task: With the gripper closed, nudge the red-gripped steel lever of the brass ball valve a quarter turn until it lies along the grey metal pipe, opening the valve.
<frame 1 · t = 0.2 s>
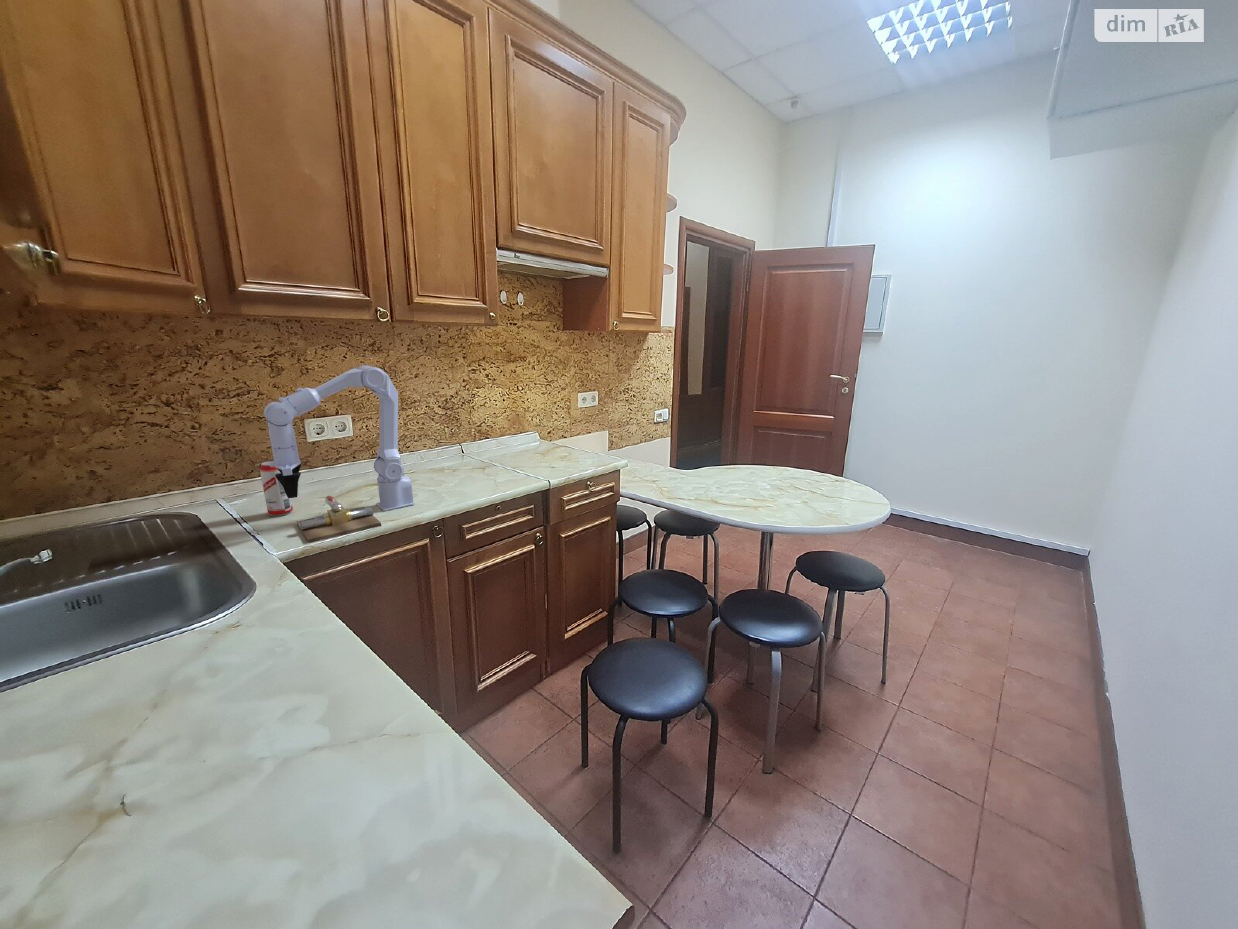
hand: (293, 493, 133), 10 cm above the countertop, fingers open, 7 cm apart
valve lever: (333, 503, 138), point 6 cm above the countertop, hinge at 0.0°
walnut board: (339, 525, 137), on the countertop
valve body: (339, 525, 137), resting on walnut board
beer can: (281, 514, 144), on the countertop
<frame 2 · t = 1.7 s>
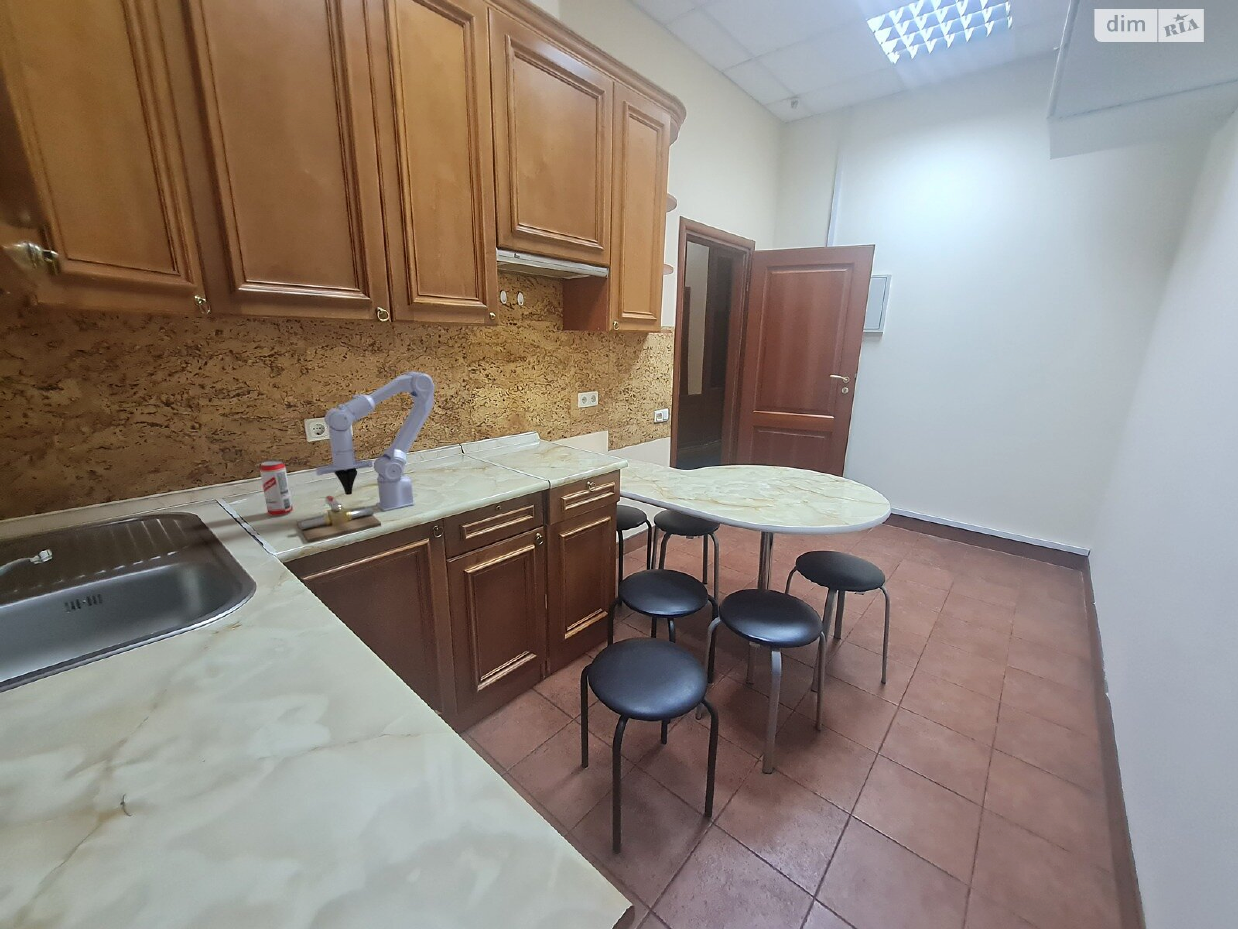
hand: (348, 493, 143), 7 cm above the countertop, fingers closed
nothing on the countertop moved.
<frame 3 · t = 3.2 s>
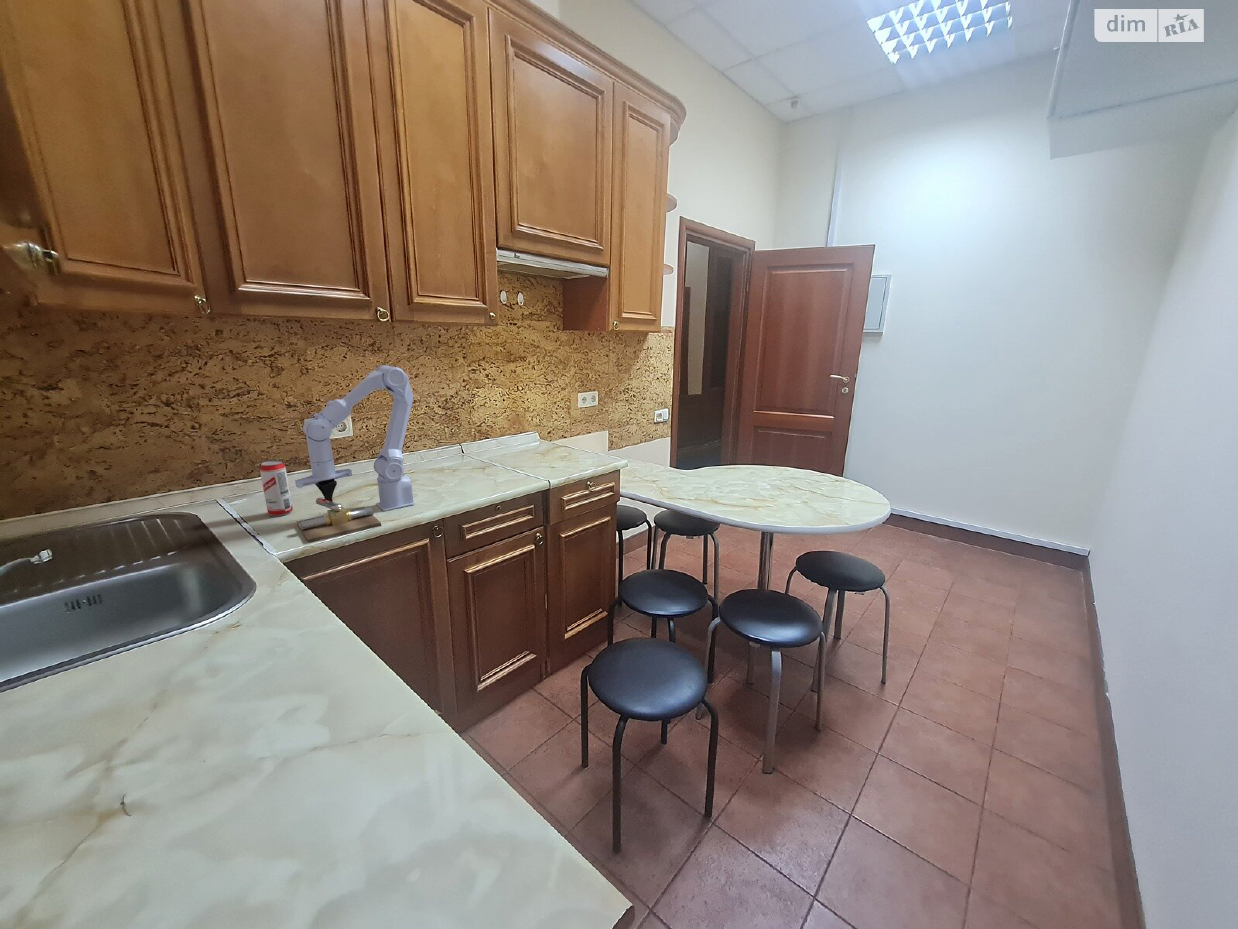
hand: (329, 504, 140), 4 cm above the countertop, fingers closed, pressing on valve lever
valve lever: (328, 504, 137), point 6 cm above the countertop, hinge at 16.5°, touching gripper
everything else where it was.
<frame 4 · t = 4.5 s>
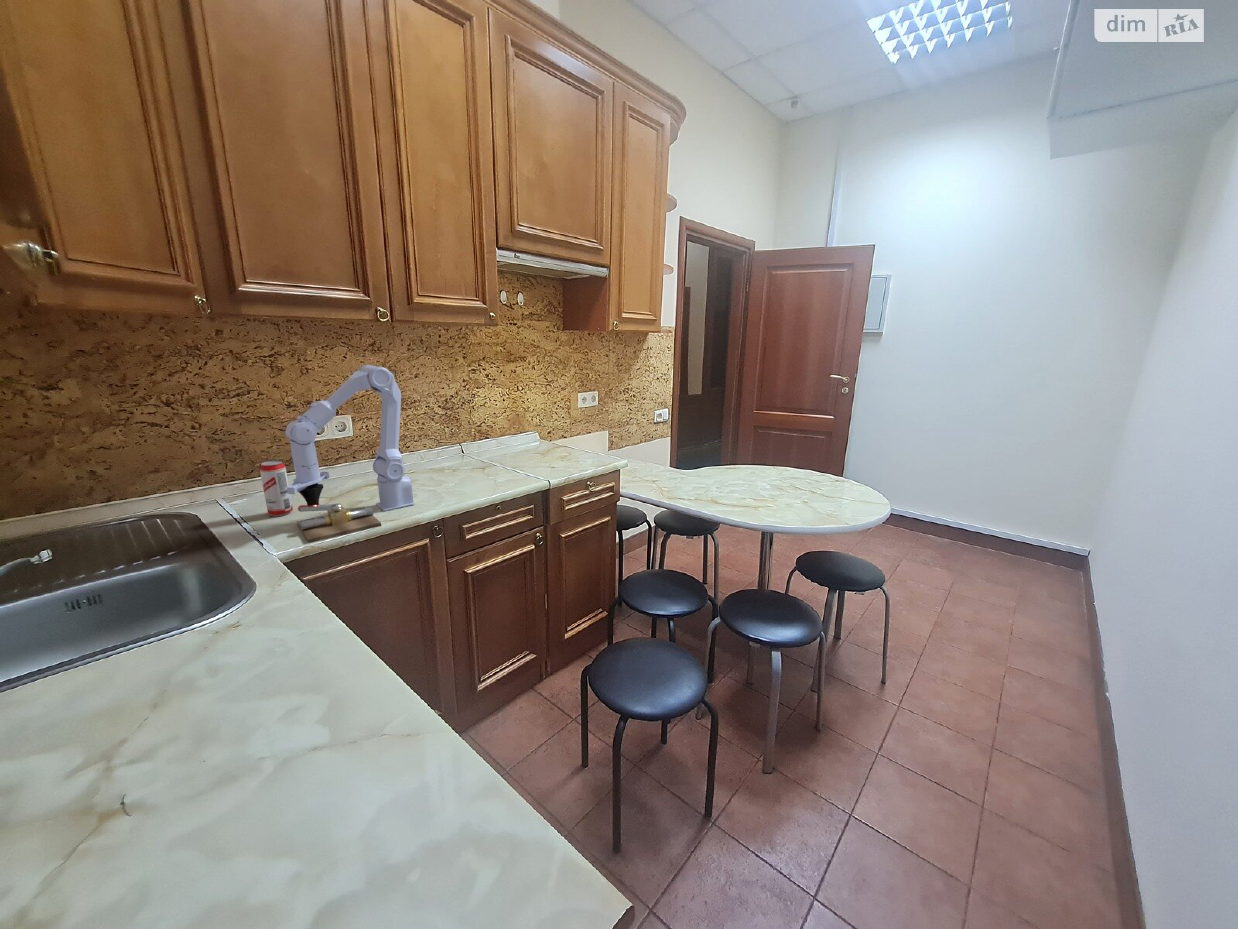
hand: (314, 509, 136), 4 cm above the countertop, fingers closed, pressing on valve lever
valve lever: (321, 507, 134), point 6 cm above the countertop, hinge at 57.6°, touching gripper
everything else where it was.
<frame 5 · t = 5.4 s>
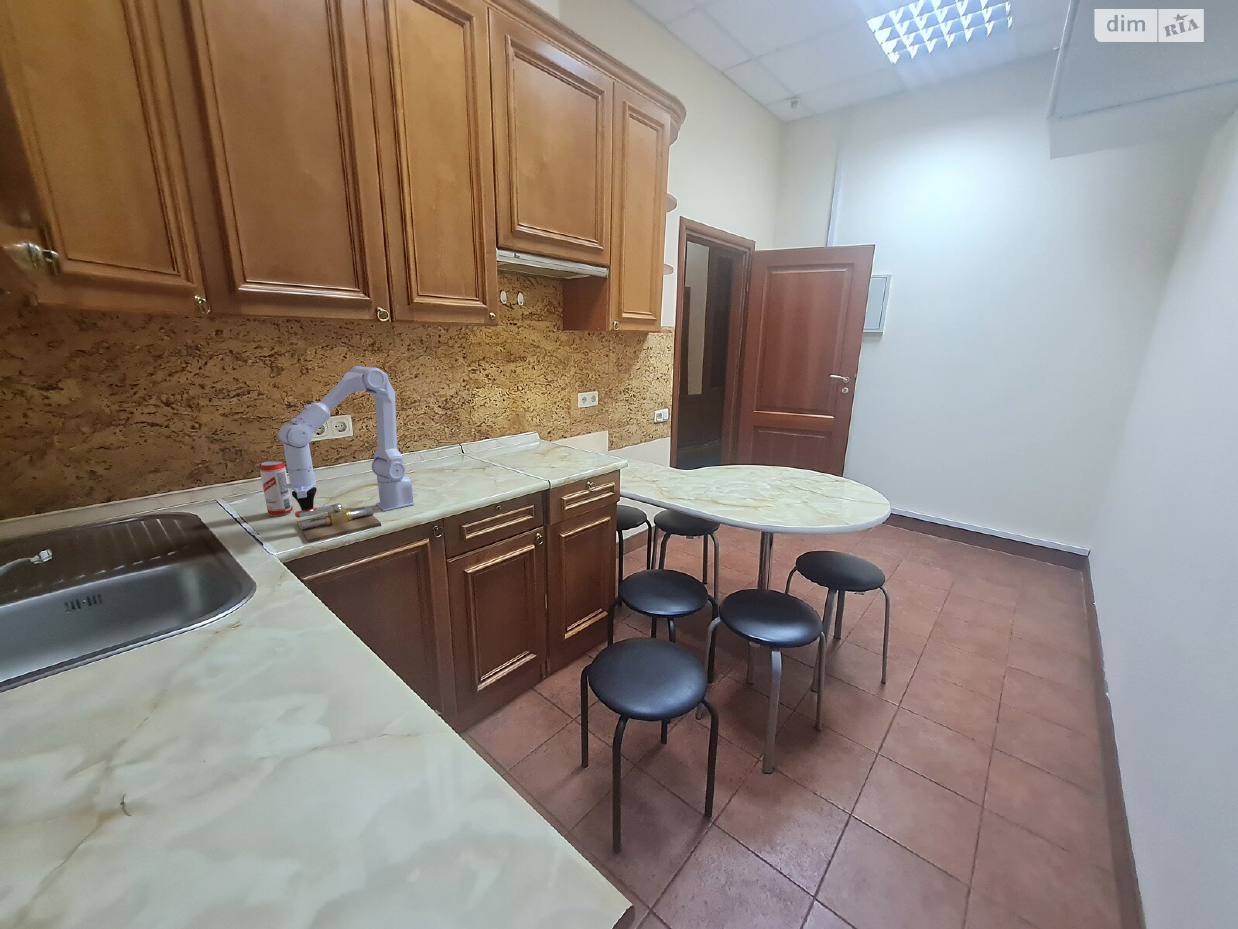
hand: (308, 514, 132), 4 cm above the countertop, fingers closed, pressing on valve lever
valve lever: (320, 510, 133), point 6 cm above the countertop, hinge at 88.9°, touching gripper
everything else where it was.
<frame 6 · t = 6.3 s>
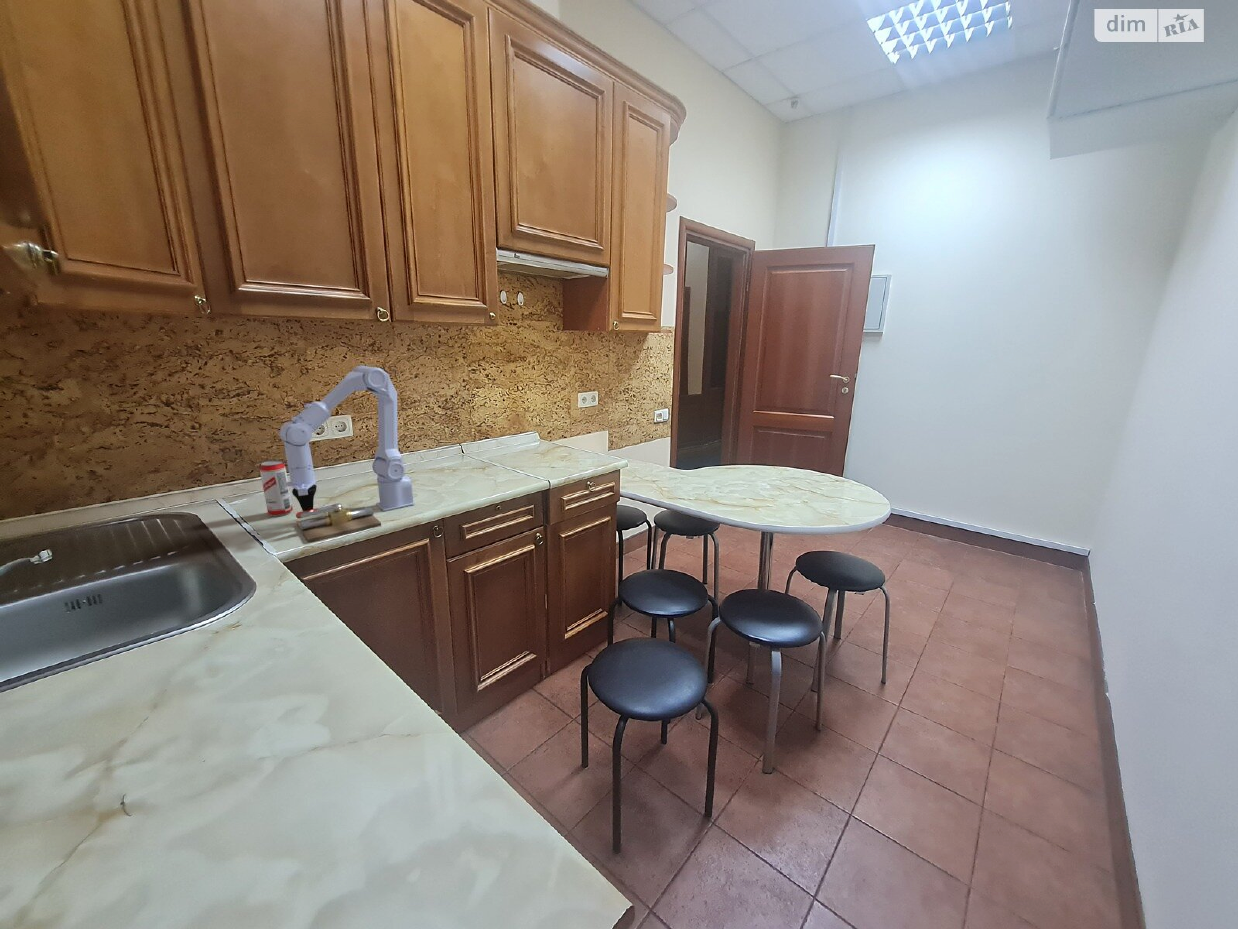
hand: (308, 512, 134), 4 cm above the countertop, fingers closed
valve lever: (321, 510, 132), point 6 cm above the countertop, hinge at 94.5°
everything else where it was.
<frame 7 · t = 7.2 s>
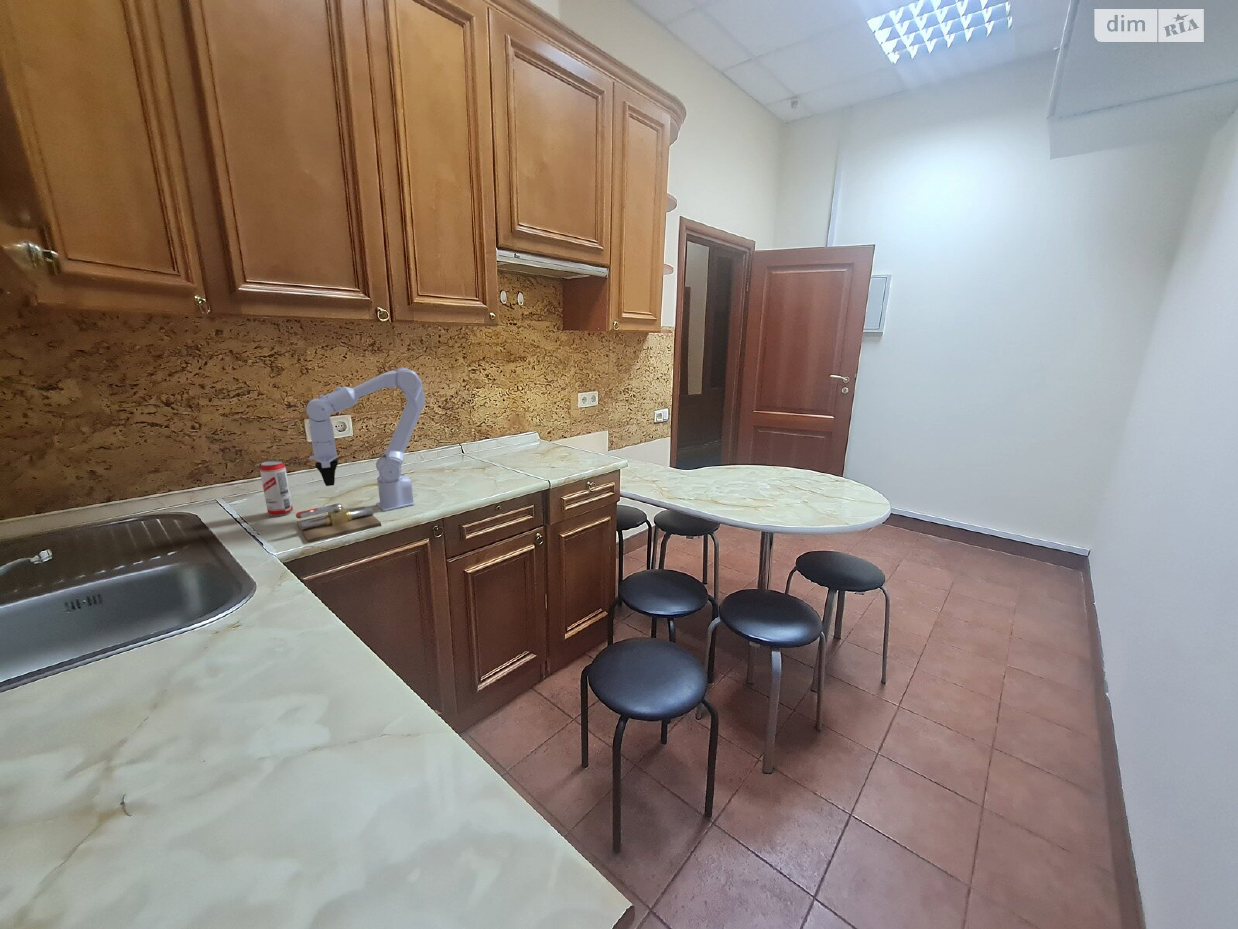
hand: (330, 485, 142), 9 cm above the countertop, fingers closed
nothing on the countertop moved.
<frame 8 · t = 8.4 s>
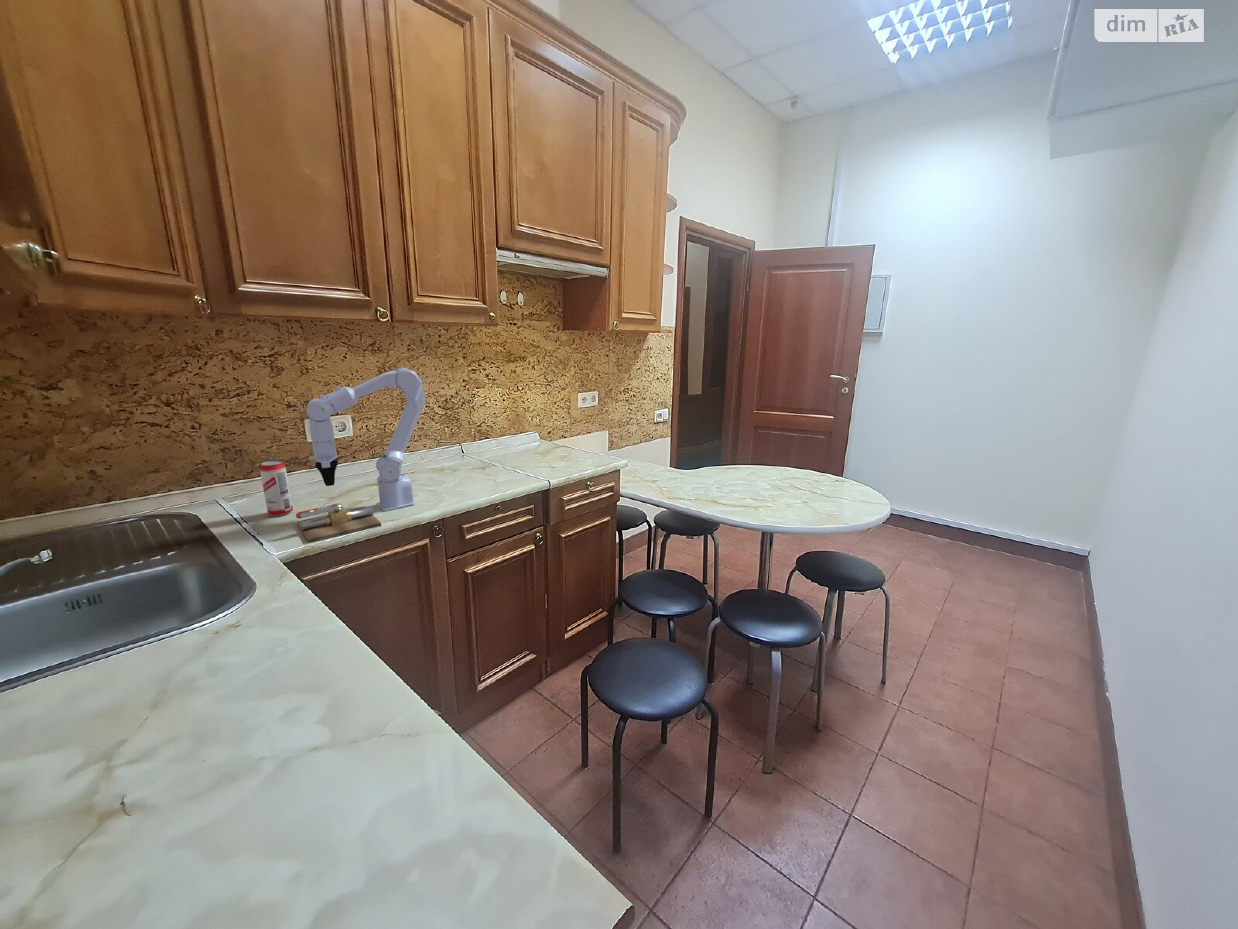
hand: (330, 485, 142), 9 cm above the countertop, fingers closed
nothing on the countertop moved.
at the end: valve lever at +94° (first picture: +0°) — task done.
